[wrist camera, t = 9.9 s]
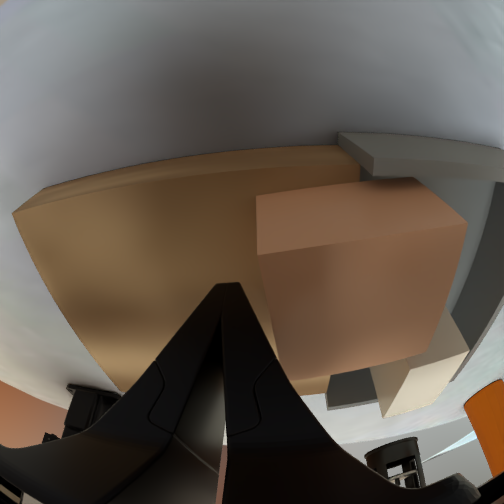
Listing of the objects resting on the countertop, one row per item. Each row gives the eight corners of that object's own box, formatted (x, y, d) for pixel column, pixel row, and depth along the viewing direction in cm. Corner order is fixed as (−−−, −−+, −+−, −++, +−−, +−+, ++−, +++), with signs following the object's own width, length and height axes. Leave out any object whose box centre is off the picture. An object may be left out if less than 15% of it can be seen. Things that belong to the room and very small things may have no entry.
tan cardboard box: (398, 294, 10) (426, 351, 8) (278, 315, 11) (283, 381, 8) (413, 176, 8) (468, 223, 5) (255, 195, 8) (257, 255, 6)
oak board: (320, 359, 17) (326, 392, 15) (130, 362, 18) (120, 391, 16) (337, 145, 10) (360, 164, 8) (43, 188, 10) (11, 213, 8)
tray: (436, 342, 17) (453, 380, 14) (320, 363, 17) (327, 410, 14) (501, 148, 9) (549, 177, 6) (337, 132, 9) (373, 157, 6)
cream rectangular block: (363, 345, 16) (406, 336, 15) (382, 418, 11) (432, 403, 11) (374, 284, 13) (425, 275, 12) (410, 369, 9) (469, 350, 8)
